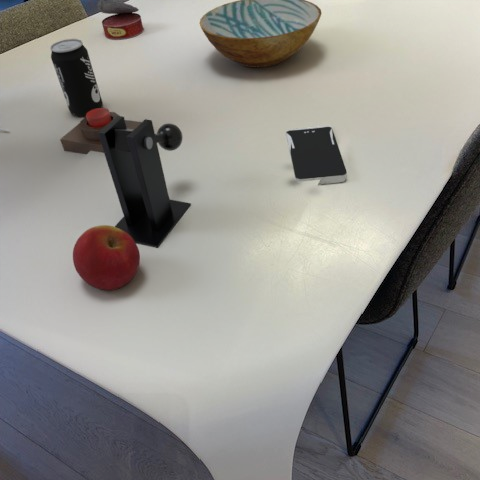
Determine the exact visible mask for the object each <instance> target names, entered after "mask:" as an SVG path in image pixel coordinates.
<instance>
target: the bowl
mask: <svg viewBox="0 0 480 480" xmlns="http://www.w3.org/2000/svg"><path fill="white" fill-rule="evenodd" d="M322 13H323V12H322V10H321V8H320V7H319V6H318V5H317V4H315V3H313V2H311V1H308V0H235V1H231V2H227V3H225V4H222V5H219V6H217V7H214V8H212V9H211V10H209V11H208V12H206V13H205V14H204V15H202V17H201V18H200V21H199V26H200V28H201V30H202V32H203V35H204V36H205V38H207V40H208V42H209V43H210V44H211V45H212V46H213V47H214V48H215V50H217V51H218V52H219V53H220V54H221V55H223V57H226V58H228V59H229V60H231V61H233V62H235V63H237V64H240V65H241V66H245V67H248V68H266V67H271V66H276V65H279V64H280V63H282V62H284V61H285V60H288V59H289V58H290V57H291V56H293V55H294V54H296V53H297V52H298V51H300V49H302V47H303V46H304V45H305V44H306V43H307V42H308V41H309V39H310V38H311V37H312V35H313V33H314V31H315V29H316V28H317V26H318V24H319V21H320V20H321V17H322Z"/></svg>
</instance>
